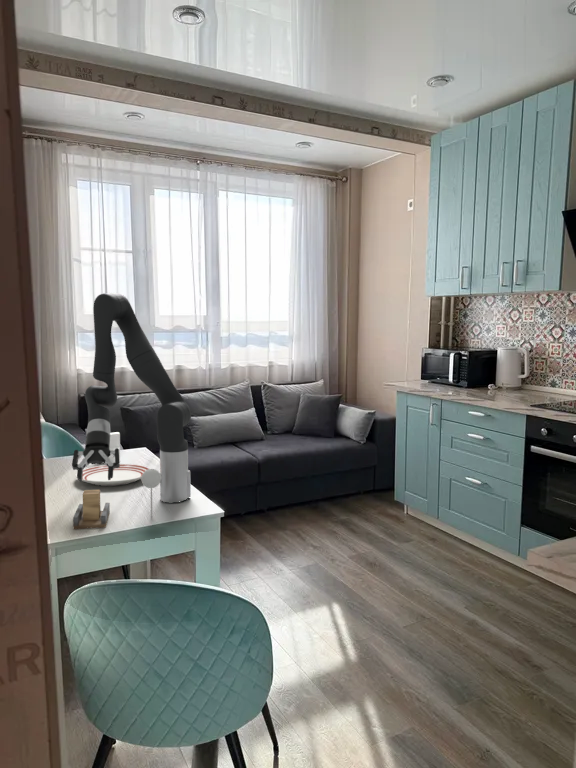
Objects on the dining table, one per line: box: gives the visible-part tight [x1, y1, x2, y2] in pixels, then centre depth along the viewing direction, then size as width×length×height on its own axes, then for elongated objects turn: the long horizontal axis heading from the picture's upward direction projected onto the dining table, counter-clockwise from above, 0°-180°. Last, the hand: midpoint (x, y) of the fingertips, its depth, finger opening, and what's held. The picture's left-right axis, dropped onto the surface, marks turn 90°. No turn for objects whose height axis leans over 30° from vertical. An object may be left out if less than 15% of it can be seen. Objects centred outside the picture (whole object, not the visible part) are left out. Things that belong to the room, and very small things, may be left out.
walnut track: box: [72, 502, 111, 530], centre depth 167 cm, size 12×9×4 cm
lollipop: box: [140, 468, 162, 517], centre depth 171 cm, size 6×6×15 cm
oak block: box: [82, 489, 102, 521], centre depth 166 cm, size 4×4×8 cm
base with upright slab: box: [108, 431, 121, 463], centre depth 236 cm, size 9×9×12 cm
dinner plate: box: [74, 463, 151, 487], centre depth 210 cm, size 27×27×3 cm
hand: (95, 479), depth 173 cm, fingers open, 8 cm apart
